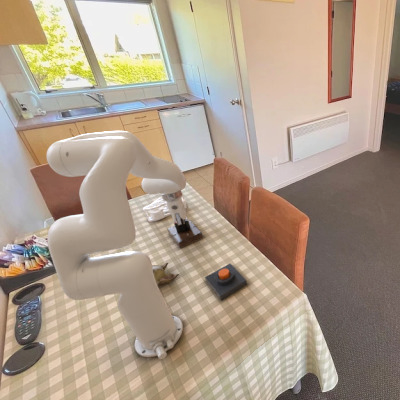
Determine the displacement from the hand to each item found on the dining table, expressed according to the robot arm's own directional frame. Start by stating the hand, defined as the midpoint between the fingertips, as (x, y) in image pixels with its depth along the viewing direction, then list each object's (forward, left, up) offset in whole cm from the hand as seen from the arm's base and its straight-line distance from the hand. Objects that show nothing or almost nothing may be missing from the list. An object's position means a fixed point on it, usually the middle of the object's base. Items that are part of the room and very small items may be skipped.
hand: (184, 229), depth 119 cm
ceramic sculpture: (-21, +19, -4) cm, 29 cm away
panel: (0, 0, -4) cm, 4 cm away
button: (-39, 0, 0) cm, 39 cm away
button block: (-39, 0, -4) cm, 39 cm away
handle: (0, 0, 0) cm, 0 cm away
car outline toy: (+26, -1, -4) cm, 26 cm away
